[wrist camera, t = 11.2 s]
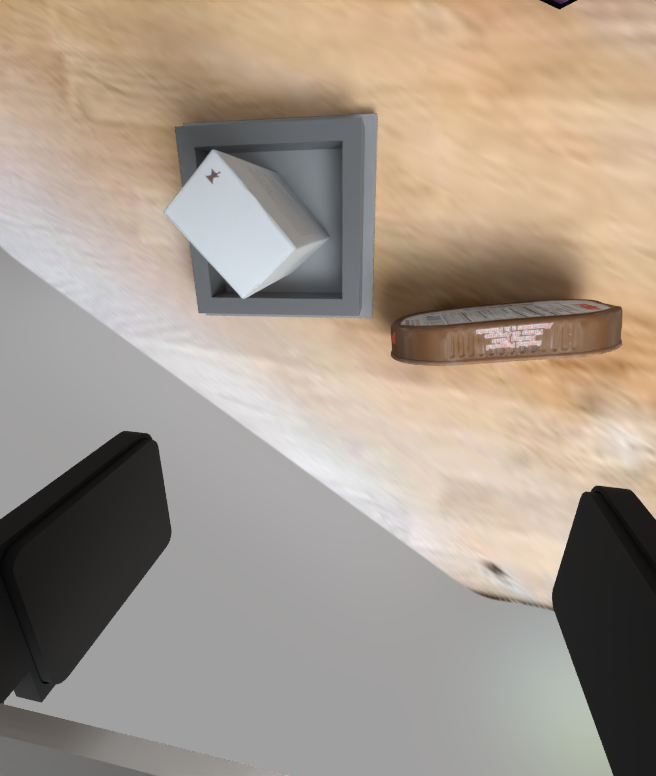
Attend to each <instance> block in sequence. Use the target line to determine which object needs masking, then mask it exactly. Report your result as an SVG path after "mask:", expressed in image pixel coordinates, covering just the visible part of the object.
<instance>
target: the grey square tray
mask: <svg viewBox="0 0 656 776" xmlns="http://www.w3.org/2000/svg"><path fill="white" fill-rule="evenodd" d="M377 122H378V116H377V113H375V114H356V115H336V116H317V117H297V118H278V119H259V120H239V121H220V122H201V123H183V127H175V133H176V140H177V148H178V156H179V164H180V172H181V179H182V187H183V186H184V185H185V184H186V182H187V181H188V180H189V179H190V177H191V176H192V175H193V173H194V172H195V171H196V170H197V168H198V167H199V166H200V164H201V163H202V162H203V161H204V159H205V158H206V157H207V155H208V154H209V153H210V151H211V150H212V149H214V150H218V151H220V152H223V153H226V154H229V155H231V156H234V157H236V158H239V159H242V160H244V161H247V162H249V163H252V164H255V165H257V166H260V167H263V168H266V169H268V170H271V171H274V172H276V173H278V174H279V175H280V176H281V177H282V178H283V180H284V181H285V182H286V183H287V184H288V186H289V187H290V188H291V189H292V190H293V192H294V193H295V194H296V195H297V197H298V198H299V199H300V200H301V201H302V203H303V204H304V205H305V206H306V207H307V209H308V210H309V211H310V212H311V214H312V215H313V216H314V217H315V219H316V220H317V221H318V222H319V223H320V225H321V226H322V227H323V228H324V230H325V231H326V232H327V233H328V234H329V236H330V237H329V239H328V240H327V241H326V242H325V243H324V244H323V245H322V246H321V247H320V248H319V249H317V250H316V251H315V252H314V253H313V254H312V255H311V256H310V257H309V258H308V259H307V260H305V261H304V262H303V263H302V264H301V265H300V266H299V267H298V268H297V269H296V270H295V271H294V272H292V273H290V274H289V275H287V276H285V277H283V278H281V279H280V280H278V281H276V282H274V283H272V284H270V285H269V286H267V287H265V288H263V289H261V290H260V291H258V292H256V293H254V294H252V295H251V296H249V297H247V298H245V299H242V298H241V297H240V296H239V294H238V293H237V292H236V291H235V290H234V289H233V288H232V287H231V286H230V284H229V283H228V282H227V281H226V280H225V279H224V278H223V277H222V276H221V275H220V274H219V272H218V271H217V270H216V269H215V268H214V267H213V266H212V265H211V264H210V263H209V262H208V261H207V260H206V259H205V258H204V257H203V255H202V254H201V253H200V252H199V251H198V250H197V249H196V248H195V247H194V246H193V245H192V244H191V242H190V241H189V242H190V249H191V257H192V265H193V273H194V281H195V288H196V296H197V304H198V312H199V313H206V315H222V316H274V317H326V318H372V308H373V271H374V234H375V196H376V159H377Z"/></svg>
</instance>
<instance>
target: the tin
mask: <svg viewBox="0 0 656 776" xmlns="http://www.w3.org/2000/svg"><path fill="white" fill-rule="evenodd" d="M621 328H622V308H621V307H619V306H614V305H609V304H604V303H601V302H599V301H595V300H583V299H567V300H545V301H531V302H519V303H507V304H493V305H482V306H472V307H461V308H452V309H442V310H434V311H427V312H421V313H415V314H411V315H407V316H403V317H401V318H399V319H397V320H396V321H395V322H394V323H393V324H392V326H391V340H392V351H391V356H392V358H393V359H395V360H397V361H400V362H403V363H408V364H415V365H428V366H446V365H464V364H479V363H495V362H508V361H526V360H542V359H556V358H573V357H585V356H592V355H598V354H603V353H607V352H610V351H613V350H616V349H618V348H619V347H620V346H621V345H622V340H621Z"/></svg>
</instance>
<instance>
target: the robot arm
mask: <svg viewBox="0 0 656 776" xmlns="http://www.w3.org/2000/svg"><path fill="white" fill-rule="evenodd" d="M170 538H171V525H170V519H169V512H168V505H167V500H166V493H165V487H164V480H163V474H162V468H161V461H160V455H159V449H158V445H157V443H156V441H154V440H152V438H151V436H150V435H149V434H147V433H139V432H129V431H123V432H121V433H119V434H118V435H116V436H115V437H114V438H112V439H111V440H109V441H108V442H107V443H105V444H104V445H102V446H101V447H100V448H99V449H97V450H96V451H94V452H93V453H91V454H90V455H89V456H87V457H86V458H85V459H83V460H82V461H80V462H79V463H78V464H76V465H75V466H73V467H72V468H71V469H69V470H68V471H67V472H65V473H64V474H63V475H61V476H60V477H58V478H57V479H56V480H54V481H53V482H51V483H50V484H49V485H47V486H46V487H44V488H43V489H42V490H40V491H39V492H38V493H36V494H35V495H33V496H32V497H31V498H29V499H28V500H27V501H25V502H24V503H22V504H21V505H20V506H18V507H17V508H15V509H14V510H13V511H11V512H10V513H9V514H7V515H6V516H5V517H3V518H2V519H0V776H289V775H285V774H281V773H277V772H273V771H269V770H266V769H262V768H257V767H254V766H250V765H246V764H242V763H238V762H234V761H230V760H226V759H222V758H218V757H214V756H210V755H206V754H202V753H198V752H194V751H190V750H186V749H182V748H178V747H174V746H170V745H167V744H163V743H159V742H155V741H150V740H147V739H143V738H138V737H134V736H130V735H126V734H122V733H118V732H114V731H110V730H106V729H102V728H97V727H93V726H90V725H85V724H82V723H77V722H73V721H69V720H65V719H61V718H57V717H53V716H48V715H45V714H41V713H37V712H33V711H29V710H24V709H20V708H16V707H12V706H8V705H4V701H5V699H6V698H7V697H8V696H9V695H10V693H11V692H12V691H13V690H14V692H15V694H16V696H18V697H21V698H25V699H29V700H34V701H38V702H42V701H43V700H44V699H45V698H46V696H47V695H48V694H49V692H50V691H51V690H52V688H53V687H54V686H55V685H56V684H59V683H62V682H63V681H64V680H65V679H66V678H67V677H68V676H69V675H70V674H71V672H72V671H73V670H74V668H75V667H76V666H77V664H78V663H79V661H80V660H81V659H82V658H83V656H84V655H85V654H86V652H87V651H88V650H89V648H90V647H91V646H92V644H93V643H94V642H95V640H96V639H97V638H98V636H99V635H100V634H101V633H102V631H103V630H104V629H105V627H106V626H107V625H108V623H109V622H110V621H111V619H112V618H113V617H114V615H115V614H116V612H117V611H118V610H119V609H120V607H121V606H122V605H123V603H124V602H125V601H126V600H127V598H128V597H129V596H130V594H131V593H132V592H133V590H134V589H135V588H136V586H137V585H138V584H139V582H140V581H141V580H142V578H143V577H144V576H145V574H146V573H147V572H148V570H149V569H150V568H151V566H152V565H153V564H154V563H155V561H156V560H157V559H158V557H159V556H160V555H161V553H162V552H163V551H164V549H165V548H166V547H167V545H168V543H169V541H170ZM552 603H553V608H554V612H555V614H556V617H557V620H558V622H559V625H560V628H561V631H562V634H563V637H564V639H565V642H566V645H567V648H568V650H569V653H570V656H571V659H572V662H573V664H574V667H575V670H576V672H577V675H578V678H579V681H580V684H581V686H582V689H583V692H584V695H585V698H586V700H587V703H588V706H589V709H590V711H591V714H592V717H593V720H594V723H595V725H596V728H597V731H598V734H599V737H600V739H601V741H602V745H603V747H604V750H605V753H606V756H607V759H608V762H609V764H610V767H611V770H612V773H613V775H614V776H656V520H655V518H654V517H653V516H652V515H651V514H650V512H649V511H648V510H647V509H646V507H645V506H644V505H643V504H642V502H641V501H640V500H639V499H638V497H637V496H636V495H635V494H634V493H633V492H632V491H631V490H628V489H622V488H613V487H604V486H595V487H594V488H593V489H592V490H591V492H584V493H583V494H582V496H581V498H580V501H579V505H578V508H577V511H576V515H575V518H574V521H573V525H572V528H571V531H570V535H569V538H568V541H567V545H566V548H565V551H564V555H563V558H562V561H561V564H560V568H559V571H558V574H557V578H556V581H555V584H554V588H553V592H552Z"/></svg>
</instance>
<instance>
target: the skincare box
mask: <svg viewBox="0 0 656 776" xmlns="http://www.w3.org/2000/svg"><path fill="white" fill-rule="evenodd" d="M164 214H165V215H166V216H167V217H168V218H169V219H170V221H171V222H172V223H173V224H174V225H175V226H176V227H177V228H178V229H179V231H180V232H181V233H182V234H183V235H184V236H185V237H186V238H187V239H188V240H189V241H190V242H191V244H192V245H193V246H194V247H195V248H196V249H197V250H198V251H199V252H200V253H201V254H202V255H203V257H204V258H205V259H206V260H207V261H208V262H209V263H210V264H211V265H212V266H213V267H214V268H215V269H216V270H217V271H218V272H219V274H220V275H221V276H222V277H223V278H224V279H225V280H226V281H227V282H228V283H229V284H230V286H231V287H232V288H233V289H234V290H235V291H236V292H237V293H238V294H239V296H240V297H241V298H242V299H245V298H247V297H249V296H251V295H252V294H254V293H256V292H258V291H260V290H261V289H263V288H265V287H267V286H269V285H270V284H272V283H274V282H276V281H278V280H280V279H281V278H283V277H285V276H287V275H289V274H290V273H292V272H294V271H295V270H296V269H297V268H298V267H299V266H300V265H301V264H302V263H303V262H304V261H305V260H307V259H308V258H309V257H310V256H311V255H312V254H313V253H314V252H315V251H316V250H317V249H319V248H320V247H321V246H322V245H323V244H324V243H325V242H326V241H327V240H328V239H329V237H330V236H329V234H328V233H327V232H326V231H325V230H324V228H323V227H322V226H321V225H320V223H319V222H318V221H317V220H316V219H315V217H314V216H313V215H312V214H311V212H310V211H309V210H308V209H307V207H306V206H305V205H304V204H303V203H302V201H301V200H300V199H299V198H298V197H297V195H296V194H295V193H294V192H293V190H292V189H291V188H290V187H289V186H288V184H287V183H286V182H285V181H284V180H283V178H282V177H281V176H280V175H279V174H278V173H276V172H274V171H271V170H268V169H266V168H263V167H260V166H257V165H255V164H252V163H249V162H247V161H244V160H242V159H239V158H236V157H234V156H231V155H229V154H226V153H223V152H220V151H218V150H214V149H212V150H211V151H210V153H209V154H208V155H207V157H206V158H205V159H204V161H203V162H202V163H201V164H200V166H199V167H198V168H197V170H196V171H195V172H194V173H193V175H192V176H191V177H190V179H189V180H188V181H187V182H186V184H185V185H184V186H183V187H182V189H181V190H180V191H179V193H178V194H177V195H176V196H175V198H174V199H173V200H172V201H171V203H170V204H169V205H168V206H167V208H166V209H165V210H164Z"/></svg>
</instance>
